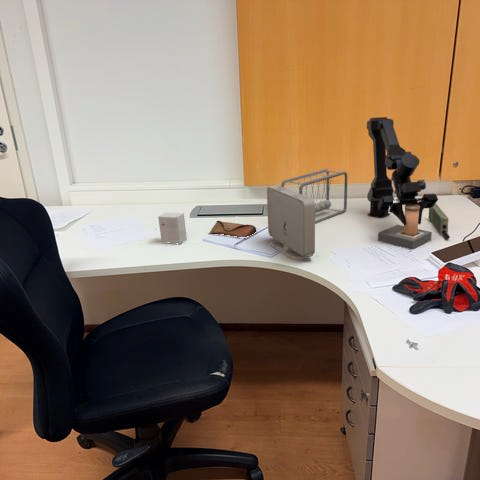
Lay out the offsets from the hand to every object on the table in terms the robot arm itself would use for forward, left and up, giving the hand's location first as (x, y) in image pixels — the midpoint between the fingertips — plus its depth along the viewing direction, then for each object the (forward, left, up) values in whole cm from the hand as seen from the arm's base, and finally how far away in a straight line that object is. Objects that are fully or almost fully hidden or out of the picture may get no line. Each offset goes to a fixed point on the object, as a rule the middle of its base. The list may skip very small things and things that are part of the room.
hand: (412, 224), depth 148 cm
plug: (-1, +1, -7) cm, 7 cm away
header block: (-4, +2, -7) cm, 8 cm away
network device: (-27, -30, -7) cm, 41 cm away
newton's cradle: (-45, +3, -7) cm, 45 cm away
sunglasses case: (-56, -33, -8) cm, 65 cm away
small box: (-65, -53, -7) cm, 84 cm away
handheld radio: (-1, +21, -7) cm, 22 cm away
